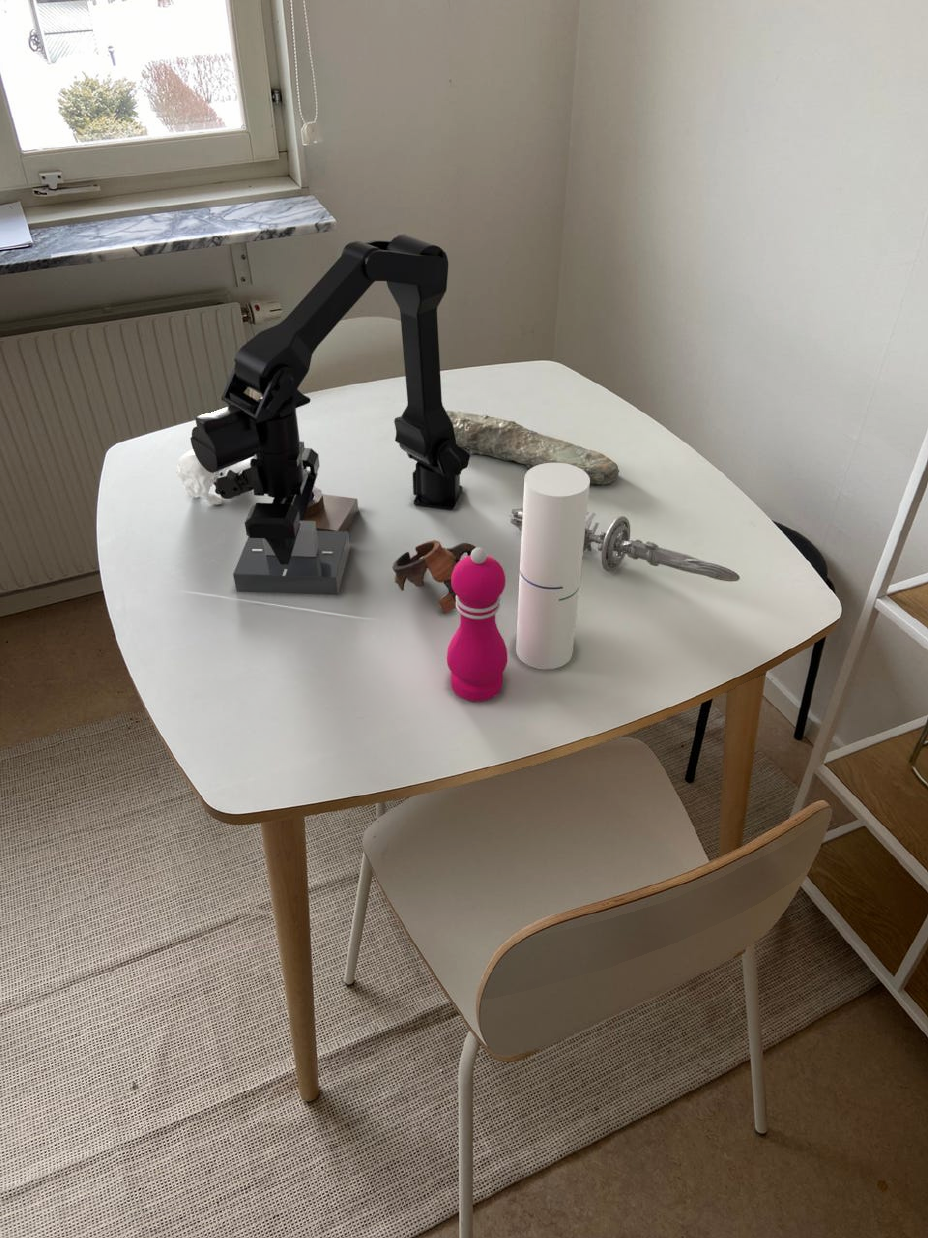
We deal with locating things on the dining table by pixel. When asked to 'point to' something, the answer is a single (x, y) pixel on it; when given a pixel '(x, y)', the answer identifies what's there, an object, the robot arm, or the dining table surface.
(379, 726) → the dining table surface
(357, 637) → the dining table surface
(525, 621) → the cylindrical container
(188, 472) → the white animal figurine
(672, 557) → the silver sword
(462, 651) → the pepper mill
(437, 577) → the broken clay pot shards
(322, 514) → the button block
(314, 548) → the rotary switch knob
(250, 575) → the rotary switch base
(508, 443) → the elongated rock
